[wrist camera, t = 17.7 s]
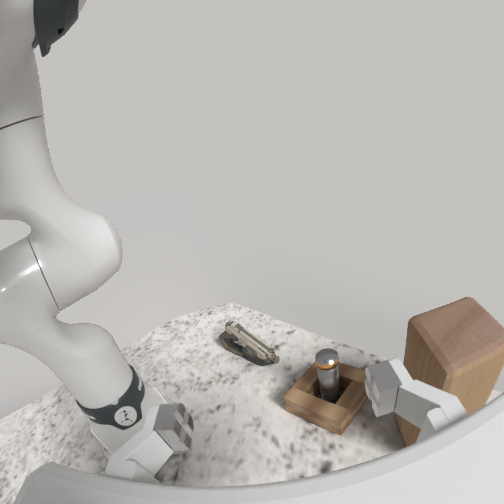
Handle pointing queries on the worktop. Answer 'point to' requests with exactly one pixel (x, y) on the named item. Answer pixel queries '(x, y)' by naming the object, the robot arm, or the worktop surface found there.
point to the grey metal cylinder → (328, 375)
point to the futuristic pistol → (247, 345)
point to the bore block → (321, 411)
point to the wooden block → (454, 355)
